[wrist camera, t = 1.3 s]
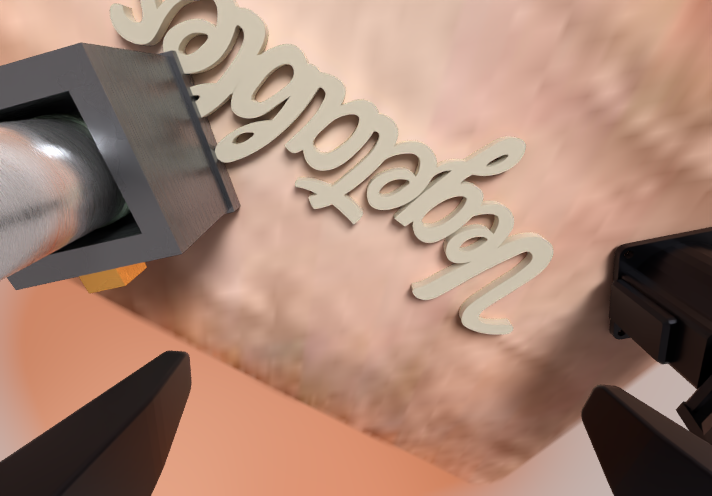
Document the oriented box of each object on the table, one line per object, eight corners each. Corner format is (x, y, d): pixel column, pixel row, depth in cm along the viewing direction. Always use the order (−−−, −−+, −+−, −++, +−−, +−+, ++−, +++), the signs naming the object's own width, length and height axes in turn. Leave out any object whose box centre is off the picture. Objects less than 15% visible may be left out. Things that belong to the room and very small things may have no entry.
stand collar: (182, 52, 17) (83, 33, 11) (244, 215, 20) (195, 270, 14) (36, 92, 17) (-131, 96, 11) (120, 243, 21) (23, 307, 15)
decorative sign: (625, 227, 19) (494, 347, 23) (614, 221, 20) (489, 337, 24) (169, -160, 13) (83, 84, 17) (181, -145, 14) (97, 84, 17)
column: (154, 97, 16) (-250, 120, 6) (193, 189, 18) (-55, 343, 7) (69, 120, 17) (-463, 183, 6) (115, 207, 19) (-230, 379, 8)
